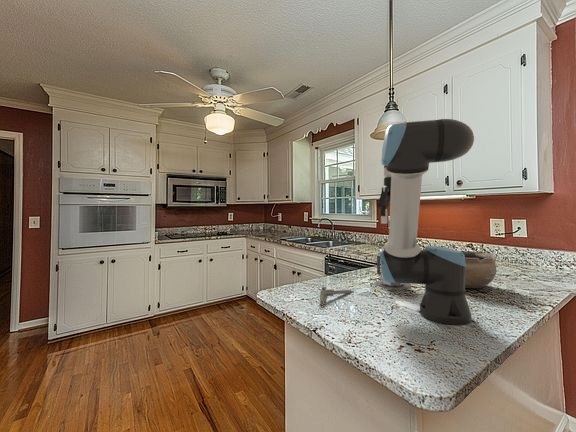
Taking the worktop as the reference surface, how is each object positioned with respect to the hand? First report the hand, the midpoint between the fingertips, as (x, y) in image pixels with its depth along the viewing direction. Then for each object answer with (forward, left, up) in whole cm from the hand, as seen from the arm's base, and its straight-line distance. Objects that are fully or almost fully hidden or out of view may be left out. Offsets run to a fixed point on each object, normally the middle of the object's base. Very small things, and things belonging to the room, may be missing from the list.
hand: (392, 222), depth 126 cm
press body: (+1, 0, -29) cm, 29 cm away
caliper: (+6, +31, -30) cm, 44 cm away
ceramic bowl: (-22, -25, -30) cm, 45 cm away
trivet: (0, 0, -30) cm, 30 cm away
